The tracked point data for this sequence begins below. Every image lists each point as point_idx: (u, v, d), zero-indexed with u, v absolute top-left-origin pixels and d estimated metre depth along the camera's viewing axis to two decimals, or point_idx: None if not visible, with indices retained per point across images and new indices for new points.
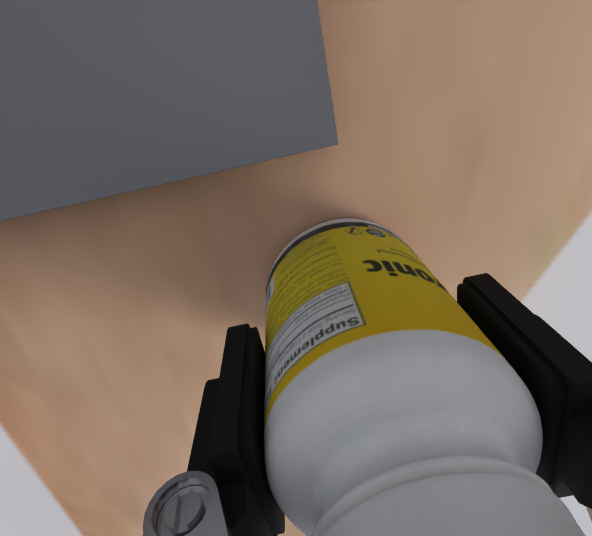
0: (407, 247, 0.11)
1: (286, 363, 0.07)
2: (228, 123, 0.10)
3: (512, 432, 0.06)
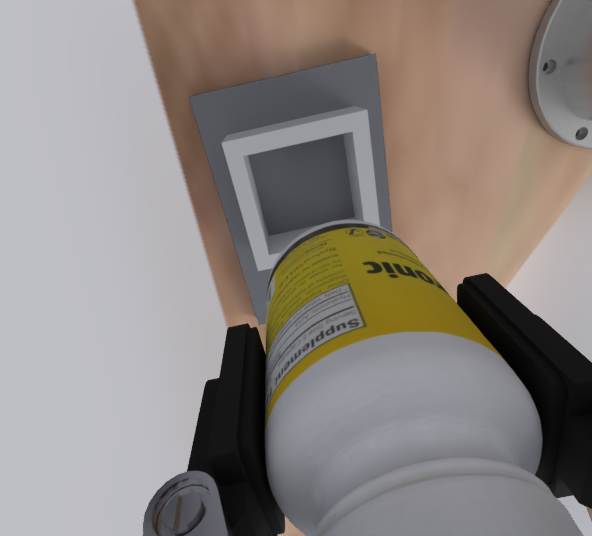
0: (407, 248, 0.11)
1: (287, 365, 0.07)
2: None
3: (512, 434, 0.06)
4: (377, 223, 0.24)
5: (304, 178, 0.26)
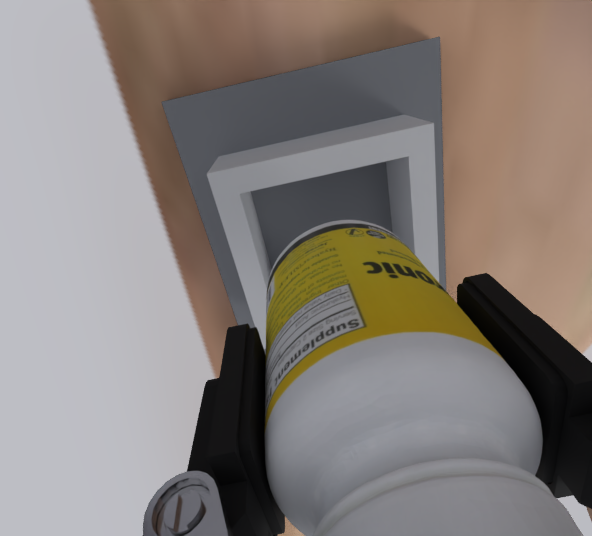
0: (407, 248, 0.11)
1: (286, 366, 0.07)
2: None
3: (512, 434, 0.06)
4: None
5: (328, 216, 0.19)
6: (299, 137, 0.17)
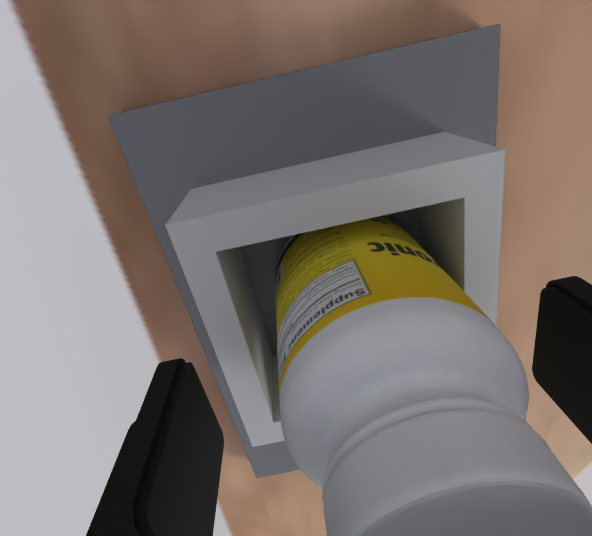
0: (407, 233, 0.12)
1: (300, 331, 0.08)
2: None
3: (500, 385, 0.07)
4: None
5: None
6: (301, 163, 0.12)
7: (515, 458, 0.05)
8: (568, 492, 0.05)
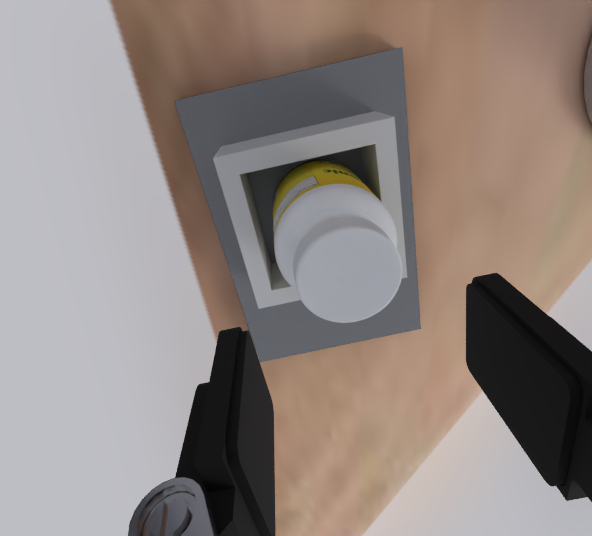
0: (351, 171, 0.20)
1: (284, 207, 0.16)
2: (381, 323, 0.27)
3: (376, 221, 0.15)
4: (402, 253, 0.20)
5: None
6: (288, 130, 0.20)
7: (363, 225, 0.13)
8: (382, 236, 0.13)
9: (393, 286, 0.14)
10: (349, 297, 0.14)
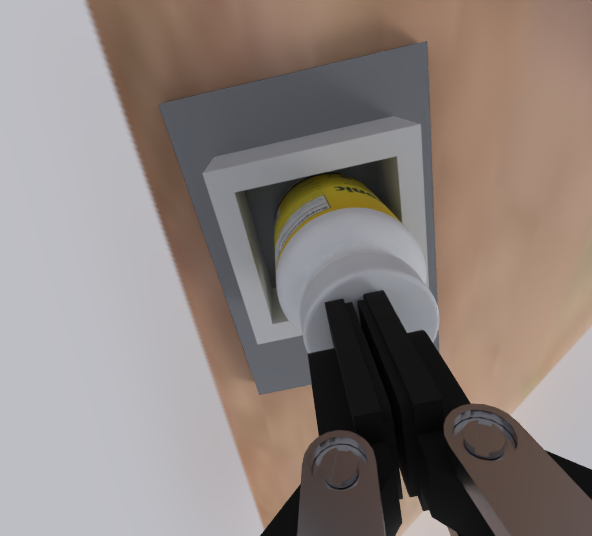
0: (366, 187, 0.17)
1: (288, 234, 0.13)
2: None
3: (403, 255, 0.12)
4: None
5: None
6: (292, 138, 0.17)
7: (391, 266, 0.10)
8: (416, 281, 0.10)
9: None
10: None
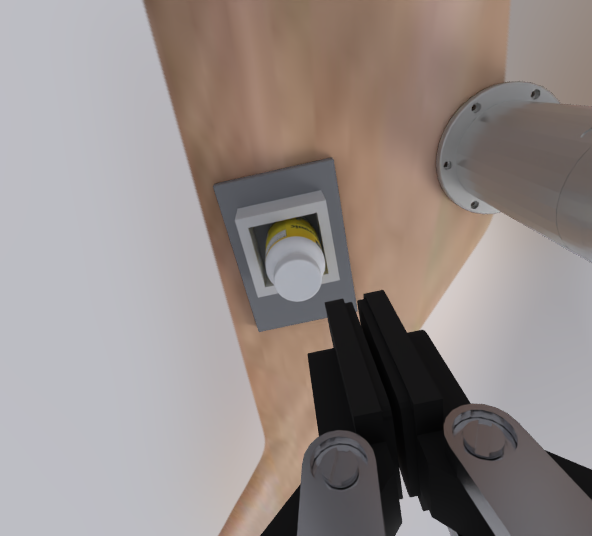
0: (308, 223, 0.37)
1: (270, 246, 0.33)
2: None
3: (312, 254, 0.32)
4: (336, 267, 0.37)
5: None
6: (274, 200, 0.37)
7: (303, 258, 0.30)
8: (311, 263, 0.30)
9: (318, 284, 0.31)
10: (298, 289, 0.31)
